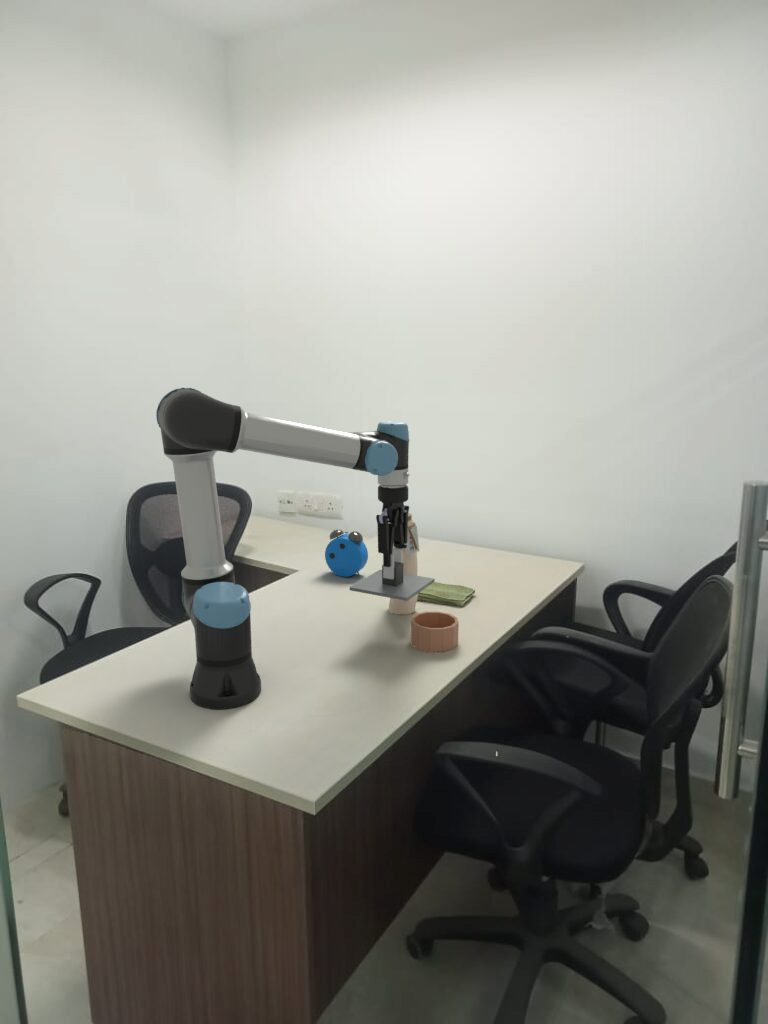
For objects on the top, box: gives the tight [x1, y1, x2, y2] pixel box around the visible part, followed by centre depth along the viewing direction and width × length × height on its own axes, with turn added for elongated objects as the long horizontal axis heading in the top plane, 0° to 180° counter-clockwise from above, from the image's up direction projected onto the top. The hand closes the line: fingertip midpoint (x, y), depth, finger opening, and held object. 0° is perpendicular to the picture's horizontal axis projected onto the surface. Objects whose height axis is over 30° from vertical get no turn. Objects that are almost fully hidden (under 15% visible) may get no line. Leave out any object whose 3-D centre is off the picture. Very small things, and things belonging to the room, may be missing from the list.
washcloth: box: [417, 581, 476, 607], centre depth 216 cm, size 13×18×3 cm
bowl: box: [410, 611, 460, 653], centre depth 183 cm, size 12×12×6 cm
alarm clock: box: [324, 529, 369, 578], centre depth 235 cm, size 13×6×15 cm, turn 68°
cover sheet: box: [349, 562, 436, 601], centre depth 182 cm, size 16×16×6 cm
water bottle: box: [388, 512, 420, 615], centre depth 202 cm, size 10×9×28 cm
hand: (393, 575), depth 182 cm, fingers closed on cover sheet, 4 cm apart
